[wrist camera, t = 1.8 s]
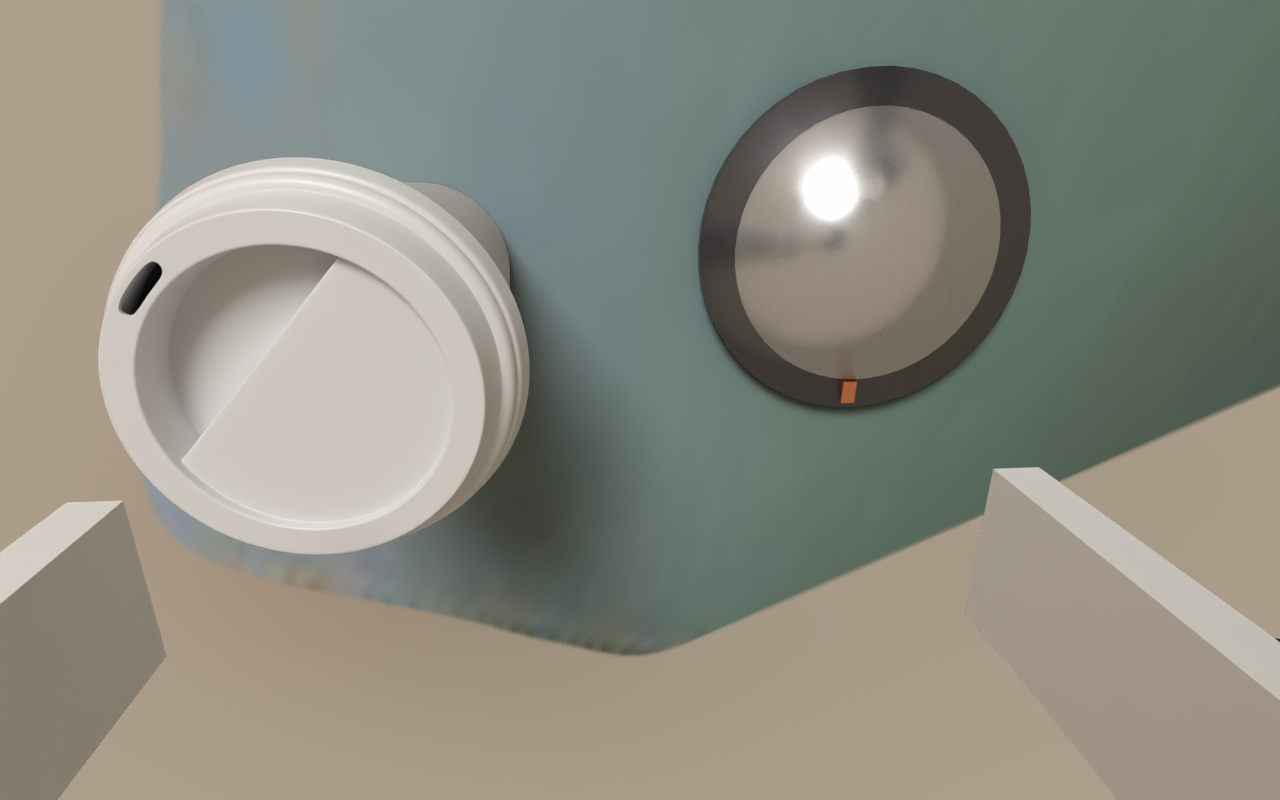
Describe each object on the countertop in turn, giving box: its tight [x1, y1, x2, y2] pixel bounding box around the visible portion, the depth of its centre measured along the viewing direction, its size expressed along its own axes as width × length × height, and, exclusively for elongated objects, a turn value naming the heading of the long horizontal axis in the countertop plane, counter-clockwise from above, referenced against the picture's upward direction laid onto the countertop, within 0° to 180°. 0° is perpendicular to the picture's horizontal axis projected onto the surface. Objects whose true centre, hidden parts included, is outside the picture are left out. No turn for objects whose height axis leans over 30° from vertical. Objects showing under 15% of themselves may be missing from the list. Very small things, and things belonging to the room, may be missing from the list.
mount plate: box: [698, 66, 1031, 407], centre depth 30 cm, size 14×14×1 cm
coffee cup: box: [98, 157, 530, 555], centre depth 22 cm, size 10×10×15 cm
